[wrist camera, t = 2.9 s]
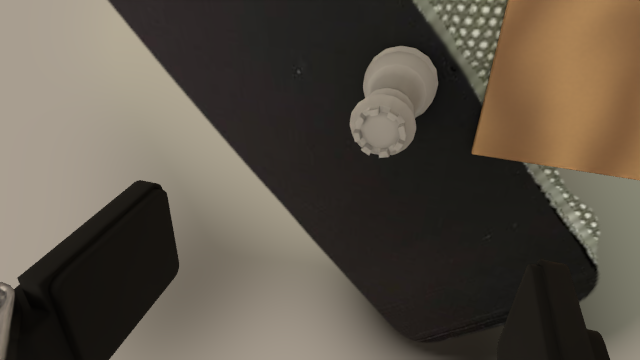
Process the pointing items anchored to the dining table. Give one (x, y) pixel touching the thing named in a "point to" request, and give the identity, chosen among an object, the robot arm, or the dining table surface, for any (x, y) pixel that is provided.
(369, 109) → the rook chess piece
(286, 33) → the dining table surface
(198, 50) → the dining table surface
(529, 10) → the wooden board
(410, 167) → the dining table surface
